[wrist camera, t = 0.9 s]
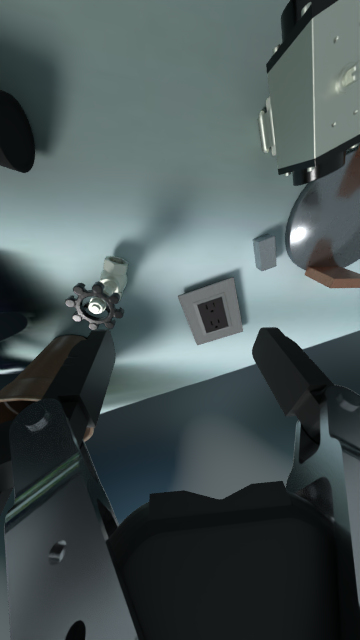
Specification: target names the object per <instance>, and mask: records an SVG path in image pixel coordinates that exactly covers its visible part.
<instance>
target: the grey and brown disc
mask: <svg viewBox="0 0 360 640" xmlns="http://www.w3.org/2000/svg"><path fill="white" fill-rule="evenodd" d="M285 244H286V250H287V253H288V255H289V257H290V259H291V260H292V262H293V263H294V264H295V265H297V266H298V267H300V268H302V269H304V270H306V272H305V275H306V276H308V277H310V278H312V279H313V280H315V281H317V282H319V283H321V284H323V285H325V286H327V287H329V288H360V274H358V273H356V272H353V271H350V270H347V269H345V268H344V267H346V266H348V265H350V264H352V263H354V262H355V261H357V260H358V259H360V145H359V148H358V149H357V150H353V151H351V152H348V153H346V157H345V164H344V166H343V167H341V168H340V169H338V170H337V171H335V172H333V173H331V174H329V175H327V176H325V177H322V178H320V179H318V180H315V181H312V182H309V183H308V184H307V185H306V187H305V188H304V190H303V191H302V192H301V194H300V195H299V197H298V199H297V200H296V202H295V204H294V206H293V208H292V210H291V213H290V216H289V219H288V222H287V226H286V233H285Z"/></svg>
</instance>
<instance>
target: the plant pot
mask: <svg viewBox="0 0 360 640" xmlns="http://www.w3.org/2000/svg"><path fill="white" fill-rule="evenodd" d="M81 340H87V339H85V338H84V337H82V336H77V335H65V336H61V337H58V338H56V339H54V340H53V341H51V342H50V344H49V345H48V346H47V347H46V348H45V349H44V350H43V351H42V352H41V353H40V354H39V355H38V356H37V357H36V358H35V359H34V360H33V361H32V362H31V363H30V364H29V365H28V366H27V367H26V368H25V369H24V370H23V371H22V372H21V374H20V375H19V376H18V377H17V378H16V379H15V380H14V381H13V382H11V383H9V384H8V385H6V386H5V387H4V388H3V389H2V390H1V391H0V423H3V422H7V421H10V420H12V419H15V418H16V416H17V415H18V414H19V413H20V412H21V411H22V410H23V409H25V408H26V407H27V406H29V405H31V404H32V403H34V402H36V401H39V400H41V399H42V397H43V396H44V394H45V393H46V391H47V389H48V388H49V386H50V384H51V383H52V381H53V379H54V378H55V376H56V374H57V373H58V371H59V369H60V368H61V366H63V363H64V361H65V359H66V358H67V356H68V354H69V353H70V351H71V349H72V348H73V347H74V346H75V345H76V344H77V343H79V342H80V341H81ZM93 431H94V427H91V428H86V431H85V434H84V437H83V440H84V442H85V441H87V440H88V439H89V438H90V437H91V436H92V434H93Z"/></svg>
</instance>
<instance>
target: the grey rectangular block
mask: <svg viewBox="0 0 360 640" xmlns="http://www.w3.org/2000/svg"><path fill="white" fill-rule="evenodd" d="M253 246H254V254H255V263H256V268H258V269H259V270H261V271H264V270H267V269H270V268H273V267H275V266H276V248H275V236H273V235H270V234H266V235H264V236H261V237H259V238H256V239H253Z"/></svg>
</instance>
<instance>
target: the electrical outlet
mask: <svg viewBox="0 0 360 640" xmlns="http://www.w3.org/2000/svg"><path fill="white" fill-rule="evenodd" d="M178 298H179V301H180V303H181V306H182V308H183V311H184V313H185V316H186V318H187V321H188V323H189V326H190V328H191V331H192V333H193V336H194V338H195V341H196V343H197V345H200V344H203V343H207V342H210V341H213V340H216V339H220V338H223V337H226V336H230V335H233V334H236V333H239V332H243V328H242V322H241V316H240V311H239V305H238V299H237V293H236V288H235V282H234V277H231V278H228V279H225V280H222V281H219V282H216V283H214V284H211V285H208V286H205V287H202V288H199V289H196V290H194V291H191V292H188V293H185V294H182V295H179V296H178Z"/></svg>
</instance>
